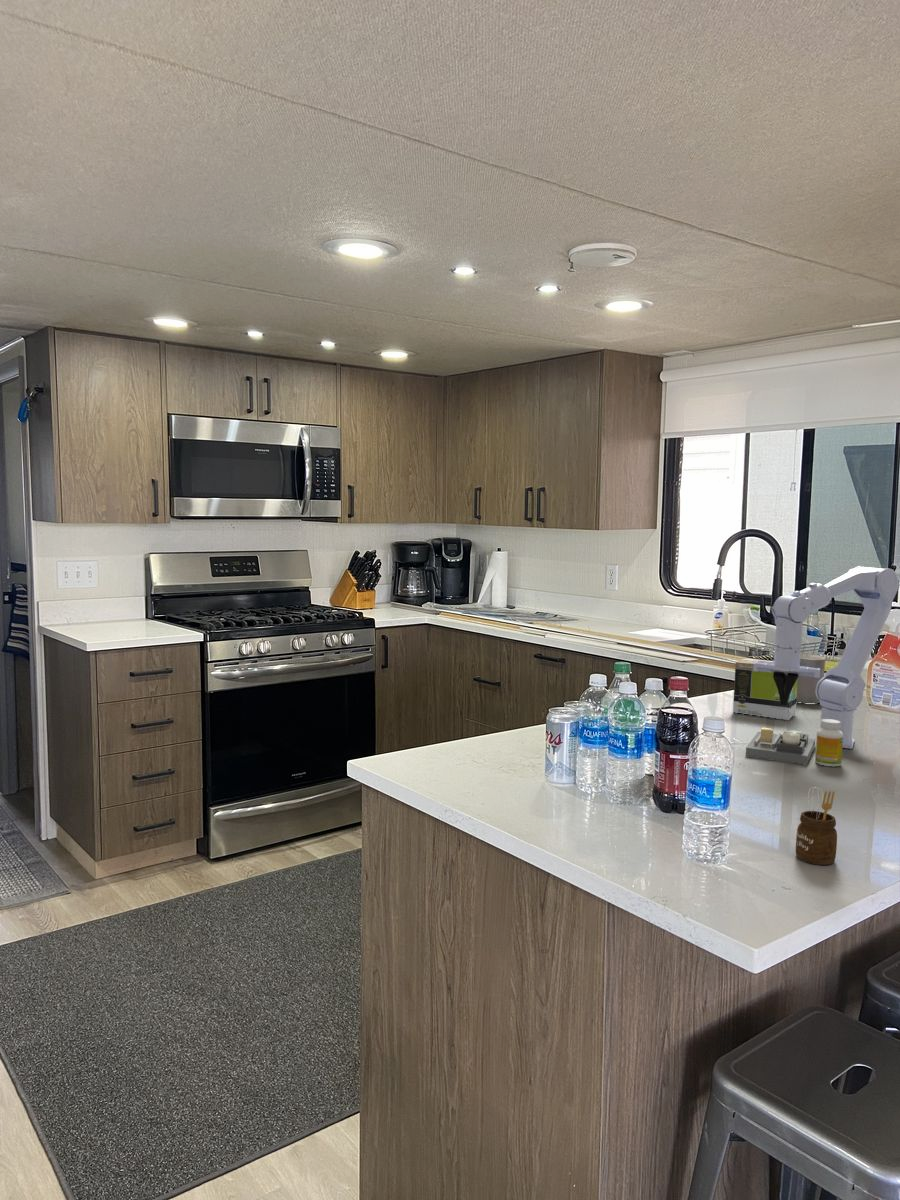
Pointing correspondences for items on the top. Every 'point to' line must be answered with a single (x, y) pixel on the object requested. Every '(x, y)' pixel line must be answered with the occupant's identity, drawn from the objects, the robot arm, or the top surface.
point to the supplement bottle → (829, 743)
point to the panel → (781, 749)
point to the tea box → (760, 692)
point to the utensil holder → (817, 834)
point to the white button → (791, 739)
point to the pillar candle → (809, 678)
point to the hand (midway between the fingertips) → (783, 704)
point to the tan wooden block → (766, 735)
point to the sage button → (796, 732)
